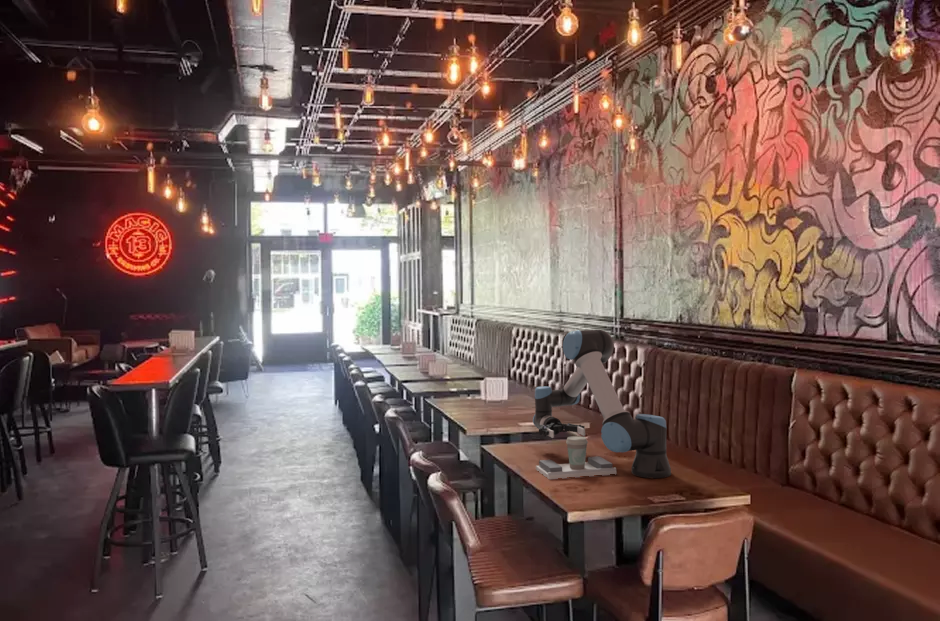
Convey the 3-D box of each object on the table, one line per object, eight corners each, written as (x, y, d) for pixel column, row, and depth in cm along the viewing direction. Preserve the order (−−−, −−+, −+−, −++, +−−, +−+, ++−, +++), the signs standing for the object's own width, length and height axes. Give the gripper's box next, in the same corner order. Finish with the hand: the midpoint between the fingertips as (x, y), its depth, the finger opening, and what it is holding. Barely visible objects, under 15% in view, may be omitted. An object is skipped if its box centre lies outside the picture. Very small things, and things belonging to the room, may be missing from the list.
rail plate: (600, 464, 304) (599, 455, 304) (616, 474, 288) (616, 464, 288) (535, 469, 297) (535, 459, 297) (548, 479, 282) (548, 469, 282)
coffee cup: (567, 470, 289) (567, 440, 289) (565, 465, 298) (565, 435, 297) (589, 470, 289) (588, 440, 288) (586, 464, 297) (586, 435, 297)
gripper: (578, 431, 323) (597, 440, 302) (523, 435, 317) (539, 444, 296) (577, 414, 323) (596, 422, 302) (523, 418, 317) (539, 426, 296)
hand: (568, 433), depth 299 cm, fingers open, 13 cm apart
